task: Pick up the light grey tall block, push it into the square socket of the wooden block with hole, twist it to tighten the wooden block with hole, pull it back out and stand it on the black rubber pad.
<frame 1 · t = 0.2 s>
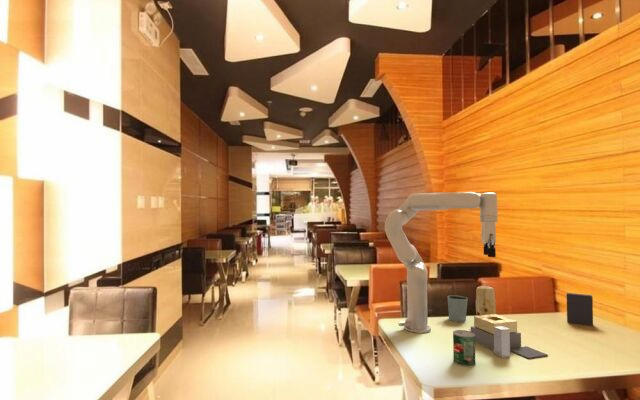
hand: (489, 255, 174), 37 cm above the table, tool pointing down, fingers open, 9 cm apart
grey square block: (495, 343, 162), on the table
canned tomato: (464, 363, 142), on the table
pad: (527, 353, 151), on the table
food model: (486, 326, 188), on the table
blue-grey cup: (457, 320, 199), on the table
wooden block with hole: (496, 323, 163), point 9 cm above the table, hinge at 0.0°
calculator: (579, 323, 193), on the table
light grey tall block: (502, 355, 149), on the table
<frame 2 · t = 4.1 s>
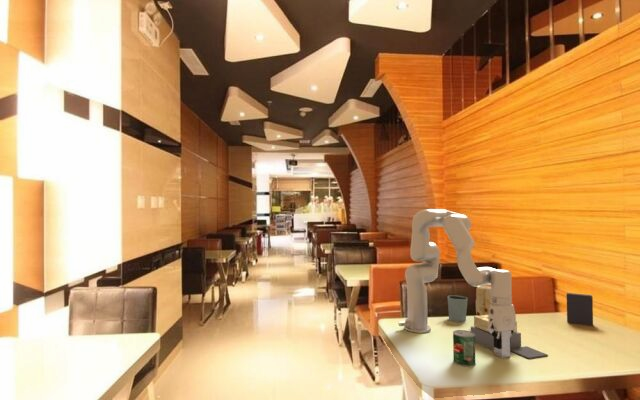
hand: (502, 346, 149), 4 cm above the table, tool pointing down, fingers closed on light grey tall block, 4 cm apart
light grey tall block: (502, 355, 149), on the table, touching gripper
everything else where it was.
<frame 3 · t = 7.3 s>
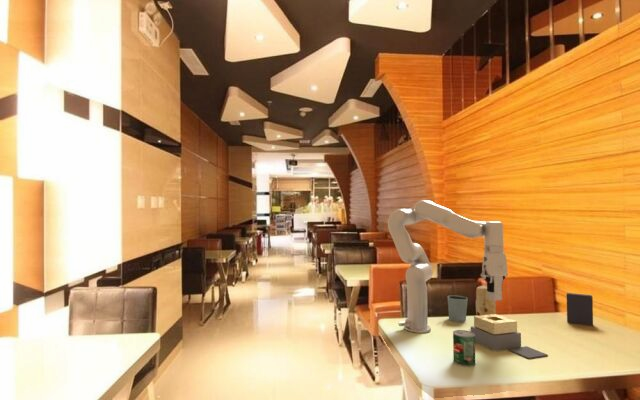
hand: (494, 291, 163), 23 cm above the table, tool pointing down, fingers closed on light grey tall block, 4 cm apart
light grey tall block: (494, 299, 163), point 19 cm above the table, touching gripper
everything else where it was.
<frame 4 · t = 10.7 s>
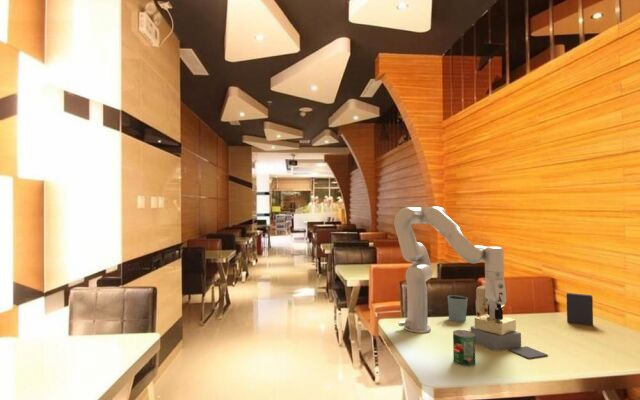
hand: (495, 316, 163), 12 cm above the table, tool pointing down, fingers closed on light grey tall block, 5 cm apart
wooden block with hole: (496, 323, 163), point 9 cm above the table, hinge at 18.3°, touching light grey tall block
light grey tall block: (495, 325, 163), point 8 cm above the table, touching wooden block with hole, gripper
everything else where it was.
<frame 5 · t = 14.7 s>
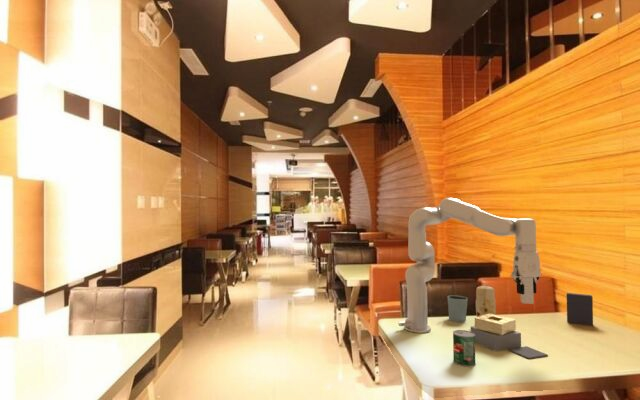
hand: (526, 292, 152), 24 cm above the table, tool pointing down, fingers closed on light grey tall block, 5 cm apart
wooden block with hole: (496, 323, 163), point 9 cm above the table, hinge at 18.9°
light grey tall block: (527, 302, 152), point 20 cm above the table, touching gripper
everything else where it was.
when the fingers open (5 cm above the table, at t = 18.4 s): light grey tall block stays where it is, resting on pad.
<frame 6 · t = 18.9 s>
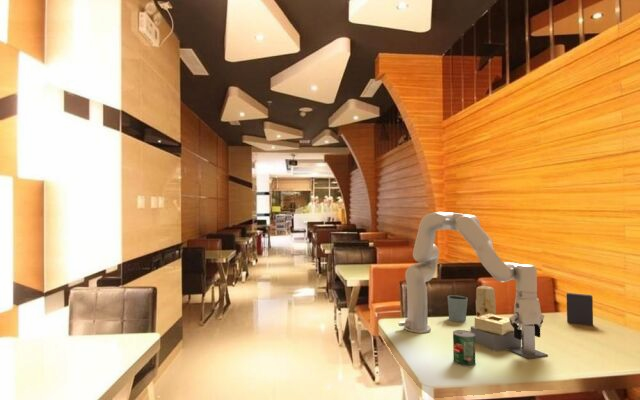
hand: (527, 337, 152), 6 cm above the table, tool pointing down, fingers open, 9 cm apart
light grey tall block: (528, 351, 151), point 1 cm above the table, touching pad
everything else where it was.
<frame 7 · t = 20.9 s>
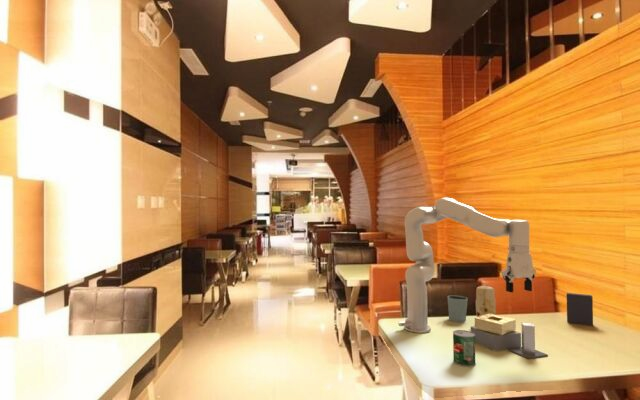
hand: (518, 291, 154), 25 cm above the table, tool pointing down, fingers open, 9 cm apart
nothing on the table moved.
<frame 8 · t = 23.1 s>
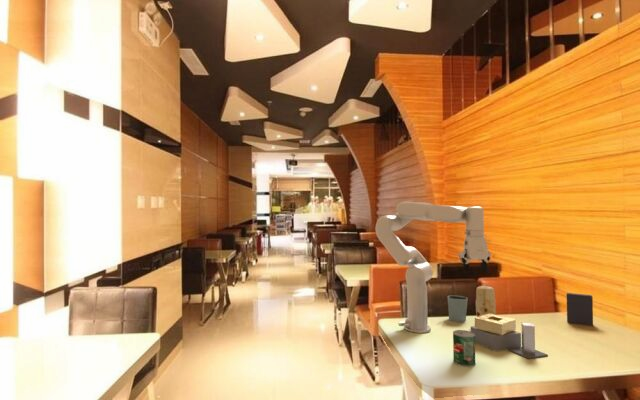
hand: (475, 272, 168), 30 cm above the table, tool pointing down, fingers open, 9 cm apart
nothing on the table moved.
at the end: wooden block with hole at +19° (first picture: +0°); light grey tall block inside the target area on the pad (0.3 cm from its centre), point 0.6 cm above the pad's base; light grey tall block tilted 0° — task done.
